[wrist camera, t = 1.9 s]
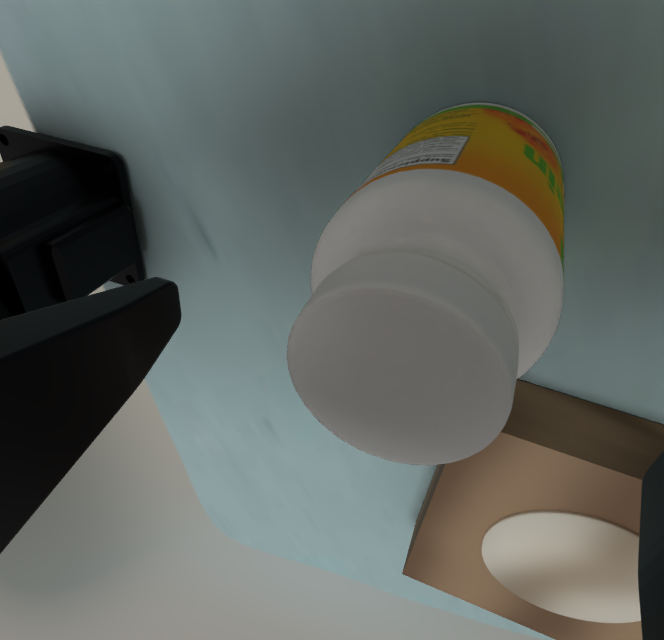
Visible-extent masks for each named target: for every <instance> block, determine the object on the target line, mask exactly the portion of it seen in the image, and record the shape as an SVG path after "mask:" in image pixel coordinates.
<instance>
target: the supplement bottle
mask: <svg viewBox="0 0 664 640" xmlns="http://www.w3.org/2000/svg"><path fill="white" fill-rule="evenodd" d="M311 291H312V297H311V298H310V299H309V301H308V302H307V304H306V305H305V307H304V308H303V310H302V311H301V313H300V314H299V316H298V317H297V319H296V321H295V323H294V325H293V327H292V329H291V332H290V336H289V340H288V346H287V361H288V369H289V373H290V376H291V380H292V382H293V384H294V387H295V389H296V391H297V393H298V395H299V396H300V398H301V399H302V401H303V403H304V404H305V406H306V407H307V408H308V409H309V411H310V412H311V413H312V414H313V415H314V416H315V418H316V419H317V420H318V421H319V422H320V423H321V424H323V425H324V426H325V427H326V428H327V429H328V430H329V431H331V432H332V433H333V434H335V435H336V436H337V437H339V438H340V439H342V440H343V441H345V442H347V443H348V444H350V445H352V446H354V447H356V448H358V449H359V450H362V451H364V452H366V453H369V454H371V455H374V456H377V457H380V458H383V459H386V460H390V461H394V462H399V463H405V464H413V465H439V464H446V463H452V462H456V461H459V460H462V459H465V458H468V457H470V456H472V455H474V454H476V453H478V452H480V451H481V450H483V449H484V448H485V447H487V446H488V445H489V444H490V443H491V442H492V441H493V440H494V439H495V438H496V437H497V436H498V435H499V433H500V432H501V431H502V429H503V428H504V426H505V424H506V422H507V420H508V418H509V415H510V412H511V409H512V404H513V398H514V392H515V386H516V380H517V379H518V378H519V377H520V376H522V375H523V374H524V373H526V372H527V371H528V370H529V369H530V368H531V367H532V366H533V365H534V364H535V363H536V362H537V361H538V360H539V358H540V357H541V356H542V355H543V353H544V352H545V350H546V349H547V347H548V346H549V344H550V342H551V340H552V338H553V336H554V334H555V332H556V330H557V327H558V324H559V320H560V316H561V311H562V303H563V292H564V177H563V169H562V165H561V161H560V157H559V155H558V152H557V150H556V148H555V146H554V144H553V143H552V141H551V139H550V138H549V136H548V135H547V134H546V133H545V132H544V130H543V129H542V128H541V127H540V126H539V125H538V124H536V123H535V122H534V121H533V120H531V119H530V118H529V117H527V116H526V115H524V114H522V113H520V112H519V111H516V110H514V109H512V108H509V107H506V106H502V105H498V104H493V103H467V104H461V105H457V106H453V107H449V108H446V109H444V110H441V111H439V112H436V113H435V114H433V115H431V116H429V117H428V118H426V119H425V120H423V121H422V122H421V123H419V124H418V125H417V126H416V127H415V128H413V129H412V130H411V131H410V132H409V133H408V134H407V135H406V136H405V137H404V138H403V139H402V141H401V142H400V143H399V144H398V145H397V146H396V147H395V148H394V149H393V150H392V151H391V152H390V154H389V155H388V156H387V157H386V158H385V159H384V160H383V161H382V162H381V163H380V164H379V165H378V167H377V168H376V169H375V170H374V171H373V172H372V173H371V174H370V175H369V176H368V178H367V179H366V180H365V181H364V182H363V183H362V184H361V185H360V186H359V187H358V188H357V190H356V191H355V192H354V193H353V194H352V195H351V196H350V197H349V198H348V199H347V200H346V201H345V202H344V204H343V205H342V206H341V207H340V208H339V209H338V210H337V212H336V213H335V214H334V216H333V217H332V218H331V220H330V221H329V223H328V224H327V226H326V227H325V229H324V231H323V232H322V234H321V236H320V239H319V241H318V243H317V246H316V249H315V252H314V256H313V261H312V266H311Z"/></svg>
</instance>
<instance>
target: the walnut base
mask: <svg viewBox="0 0 664 640" xmlns="http://www.w3.org/2000/svg"><path fill="white" fill-rule="evenodd" d="M663 450H664V425H661V424H658V423H655V422H652V421H648V420H645V419H642V418H639V417H636V416H632V415H629V414H626V413H623V412H620V411H616V410H613V409H610V408H607V407H604V406H601V405H597V404H594V403H591V402H588V401H585V400H581V399H578V398H575V397H572V396H569V395H565V394H562V393H559V392H556V391H553V390H549V389H546V388H543V387H540V386H537V385H533V384H530V383H527V382H524V381H521V380H516V386H515V392H514V398H513V404H512V409H511V412H510V415H509V418H508V420H507V422H506V424H505V426H504V428H503V429H502V431H501V432H500V433H499V435H498V436H497V437H496V438H495V439H494V440H493V441H492V442H491V443H490V444H489V445H488V446H487V447H485V448H484V449H483V450H481V451H480V452H478V453H476V454H474V455H472V456H470V457H468V458H465V459H462V460H459V461H456V462H452V463H446V464H439V465H437V468H436V470H435V473H434V476H433V478H432V481H431V484H430V486H429V489H428V492H427V494H426V497H425V500H424V502H423V505H422V508H421V510H420V513H419V516H418V518H417V521H416V524H415V528H414V532H413V535H412V539H411V543H410V547H409V550H408V554H407V558H406V562H405V565H404V569H403V573H402V574H404V575H406V576H408V577H411V578H413V579H415V580H418V581H420V582H422V583H425V584H427V585H429V586H432V587H434V588H436V589H439V590H441V591H443V592H446V593H448V594H451V595H453V596H455V597H458V598H460V599H462V600H465V601H467V602H469V603H472V604H474V605H476V606H479V607H481V608H483V609H486V610H488V611H490V612H493V613H495V614H497V615H500V616H502V617H504V618H507V619H509V620H511V621H514V622H516V623H518V624H521V625H523V626H525V627H528V628H530V629H532V630H535V631H537V632H539V633H542V634H544V635H546V636H549V637H551V638H553V639H556V640H642V628H641V615H640V602H639V589H638V549H639V529H640V510H641V490H642V481H643V477H644V475H645V473H646V471H647V469H648V468H649V467H650V466H651V465H652V463H653V462H654V461H655V460H656V459H657V457H658V456H659V455H660V454H661V453H662V451H663Z"/></svg>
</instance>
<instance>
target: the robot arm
mask: <svg viewBox="0 0 664 640" xmlns="http://www.w3.org/2000/svg"><path fill="white" fill-rule="evenodd" d="M0 154H1V157H2V160H3V162H1V163H0V554H1V552H2V551H3V550H4V549H5V548H6V546H7V545H8V544H9V543H10V541H11V540H12V539H13V538H14V537H15V535H16V534H17V533H18V532H19V531H20V529H21V528H22V527H23V526H24V524H25V523H26V522H27V521H28V520H29V519H30V517H31V516H32V515H33V514H34V512H35V511H36V510H37V509H38V508H39V506H40V505H41V504H42V503H43V502H44V500H45V499H46V498H47V497H48V496H49V494H50V493H51V492H52V491H53V489H54V488H55V487H56V486H57V485H58V483H59V482H60V481H61V479H63V477H64V476H65V475H66V474H67V473H68V471H69V470H70V469H71V468H72V466H73V465H74V464H75V463H76V461H77V460H78V459H79V458H80V457H81V456H82V454H83V453H84V452H85V451H86V449H87V448H88V447H89V446H90V445H91V443H92V442H93V441H94V440H95V439H96V437H97V436H98V435H99V434H100V432H101V431H102V430H103V429H104V428H105V427H106V425H107V424H108V423H109V422H110V420H111V419H112V418H113V417H114V415H115V414H116V413H117V412H118V411H119V410H120V408H121V407H122V406H123V405H124V403H125V402H126V401H127V400H128V399H129V397H130V396H131V395H132V394H133V392H134V391H135V390H136V389H137V387H138V386H139V385H140V383H141V382H142V381H143V379H144V378H145V376H146V375H147V374H148V372H149V371H150V369H151V367H152V366H153V364H154V363H155V361H156V360H157V358H158V357H159V355H160V354H161V352H162V351H163V349H164V348H165V346H166V345H167V343H168V342H169V340H170V339H171V337H172V336H173V334H174V333H175V331H176V330H177V328H178V326H179V324H180V321H181V308H180V300H179V292H178V287H177V285H176V284H175V283H174V282H172V281H169V280H166V279H163V278H159V277H154V278H150V279H146V280H144V273H143V267H142V261H141V256H140V250H139V245H138V239H137V234H136V228H135V222H134V217H133V211H132V206H131V200H130V195H129V189H128V184H127V178H126V172H125V167H124V164H123V161H122V160H121V158H120V157H119V156H118V155H117V154H115V153H113V152H109V151H105V150H101V149H97V148H93V147H90V146H86V145H82V144H78V143H74V142H70V141H66V140H62V139H58V138H54V137H50V136H46V135H42V134H38V133H35V132H31V131H26V130H23V129H19V128H15V127H11V126H3V127H0ZM110 164H111V165H112V167H111V166H110ZM108 281H112V282H115V283H118V284H121V285H125V286H121V287H118V288H114V289H110V290H107V291H103V292H100V293H96V294H92V295H89V294H90V293H92V292H93V291H95V290H96V289H97V288H99V287H101V286H102V285H103V284H105V283H106V282H108ZM88 295H89V296H88ZM638 589H639V602H640V615H641V628H642V640H664V450H663V451H662V453H661V454H660V455H659V456H658V457H657V459H656V460H655V461H654V462H653V463H652V465H651V466H650V467H649V468H648V469H647V471H646V473H645V475H644V477H643V481H642V490H641V510H640V529H639V549H638Z"/></svg>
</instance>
